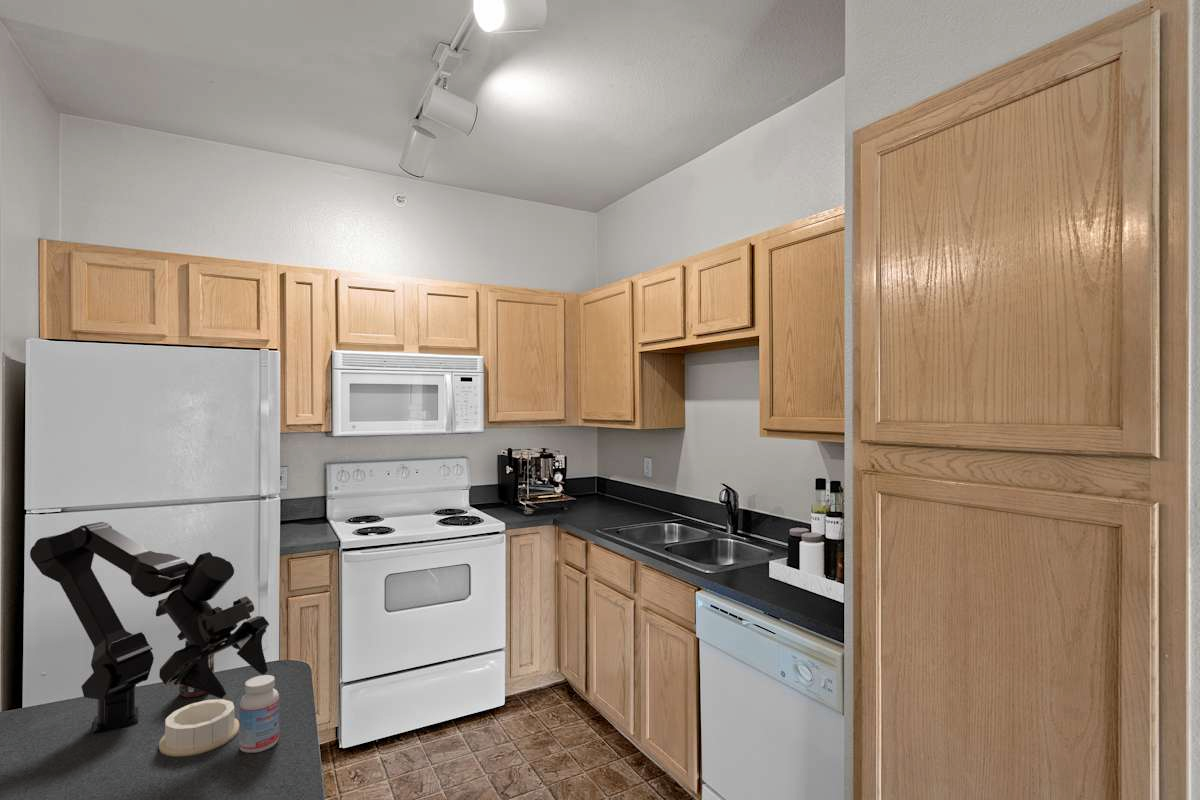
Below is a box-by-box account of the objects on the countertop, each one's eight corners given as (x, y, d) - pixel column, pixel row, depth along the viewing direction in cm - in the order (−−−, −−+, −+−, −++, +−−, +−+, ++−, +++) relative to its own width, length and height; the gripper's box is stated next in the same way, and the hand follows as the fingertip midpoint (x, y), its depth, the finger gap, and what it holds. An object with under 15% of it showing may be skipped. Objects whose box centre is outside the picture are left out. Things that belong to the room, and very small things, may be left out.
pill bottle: (261, 756, 103) (262, 690, 103) (230, 752, 104) (231, 686, 104) (286, 737, 109) (287, 674, 109) (257, 733, 110) (257, 671, 110)
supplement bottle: (177, 690, 126) (178, 636, 126) (211, 682, 130) (211, 629, 130) (181, 701, 122) (181, 645, 122) (215, 692, 126) (216, 637, 126)
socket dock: (157, 733, 110) (158, 710, 110) (234, 713, 117) (234, 691, 117) (160, 765, 100) (160, 739, 100) (243, 740, 108) (244, 716, 108)
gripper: (172, 604, 100) (228, 678, 97) (261, 573, 118) (310, 635, 115) (134, 648, 102) (188, 722, 99) (227, 611, 120) (274, 672, 117)
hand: (245, 684), depth 107 cm, fingers open, 9 cm apart
